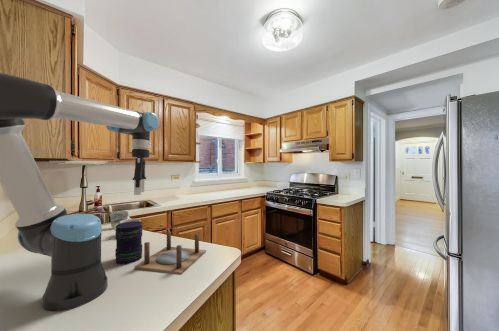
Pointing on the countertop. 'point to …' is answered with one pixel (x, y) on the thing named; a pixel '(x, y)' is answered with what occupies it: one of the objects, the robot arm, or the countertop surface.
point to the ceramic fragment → (118, 217)
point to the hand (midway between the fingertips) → (139, 193)
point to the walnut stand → (170, 257)
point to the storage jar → (128, 242)
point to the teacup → (127, 221)
